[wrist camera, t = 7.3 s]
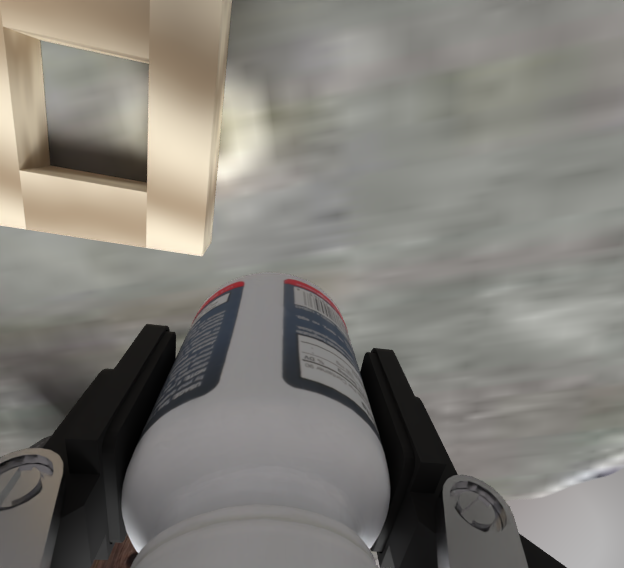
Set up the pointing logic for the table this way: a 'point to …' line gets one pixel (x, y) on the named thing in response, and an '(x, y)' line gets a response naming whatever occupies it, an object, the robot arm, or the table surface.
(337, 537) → the pill bottle
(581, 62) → the table surface
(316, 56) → the table surface
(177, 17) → the wooden rack
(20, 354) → the table surface
